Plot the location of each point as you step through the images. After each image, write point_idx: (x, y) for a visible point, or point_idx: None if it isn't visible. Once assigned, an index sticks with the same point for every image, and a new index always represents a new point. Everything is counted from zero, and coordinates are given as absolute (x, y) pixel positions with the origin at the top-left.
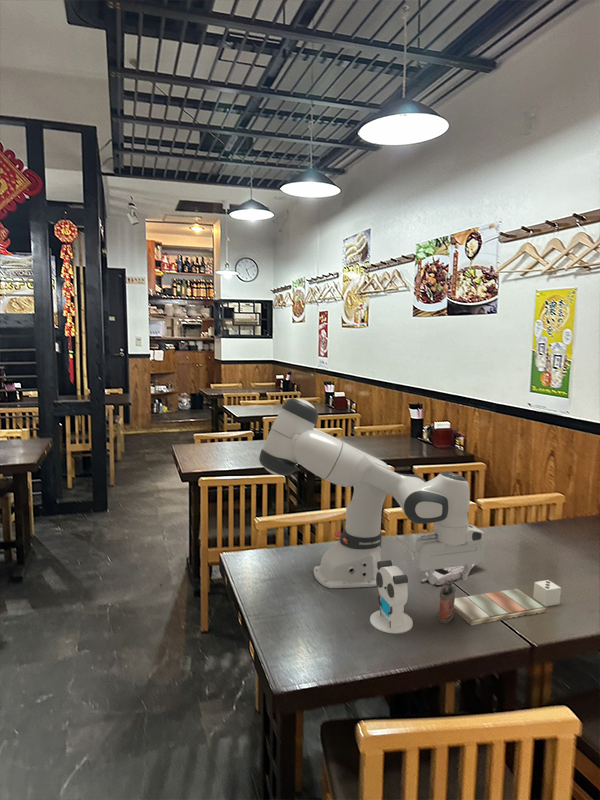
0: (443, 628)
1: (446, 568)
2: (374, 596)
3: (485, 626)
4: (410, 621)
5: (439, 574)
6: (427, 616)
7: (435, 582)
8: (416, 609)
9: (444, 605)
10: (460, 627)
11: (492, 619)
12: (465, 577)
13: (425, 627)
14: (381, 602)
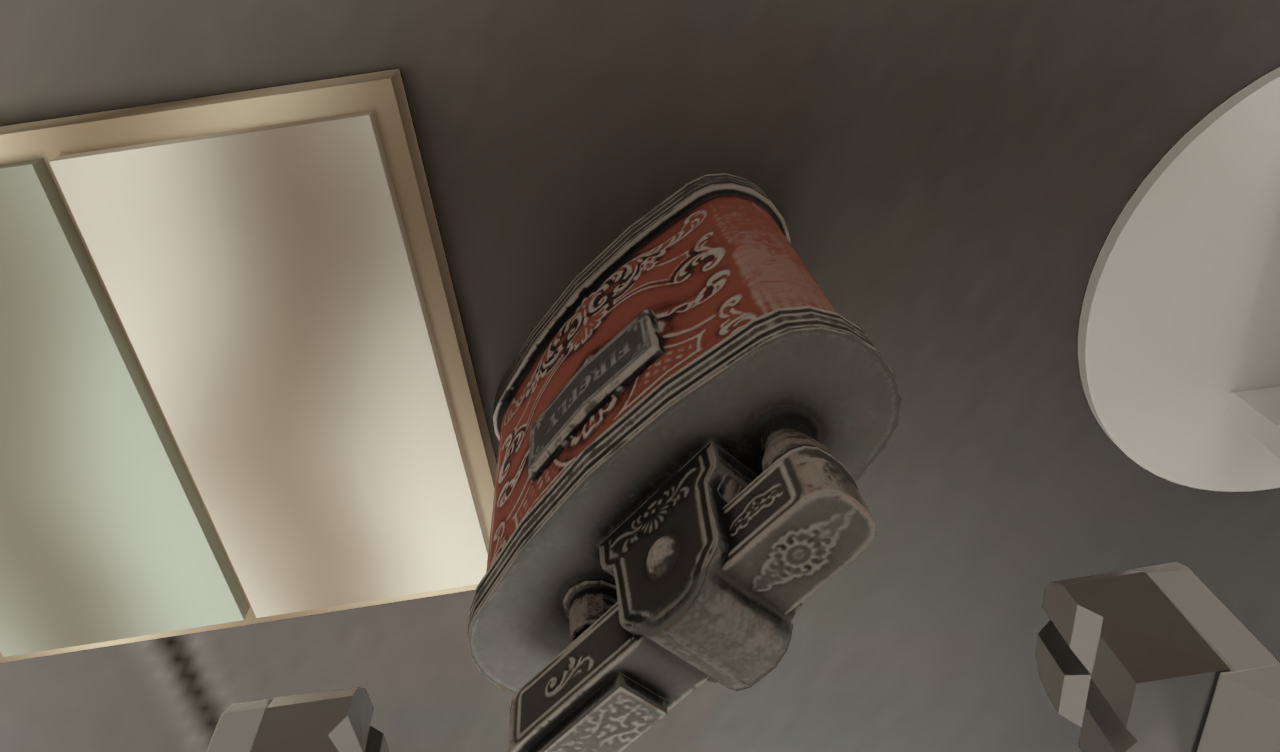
0: (814, 53)
1: None
2: None
3: (190, 12)
4: (1139, 243)
5: None
6: None
7: (1122, 596)
8: (901, 476)
9: (800, 276)
10: (572, 42)
11: (26, 129)
12: (274, 737)
13: (1025, 111)
14: None
